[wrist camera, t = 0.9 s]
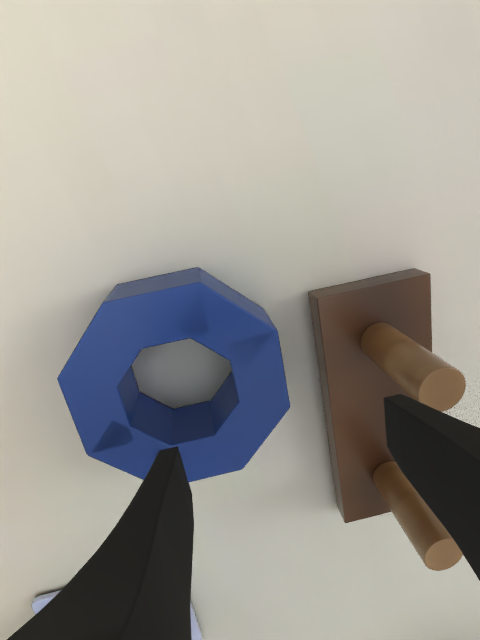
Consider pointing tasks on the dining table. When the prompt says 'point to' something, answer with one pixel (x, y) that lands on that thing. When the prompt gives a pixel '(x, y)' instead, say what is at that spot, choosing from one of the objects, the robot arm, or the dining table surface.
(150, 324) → the ring
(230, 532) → the dining table surface
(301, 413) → the dining table surface
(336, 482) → the rack
